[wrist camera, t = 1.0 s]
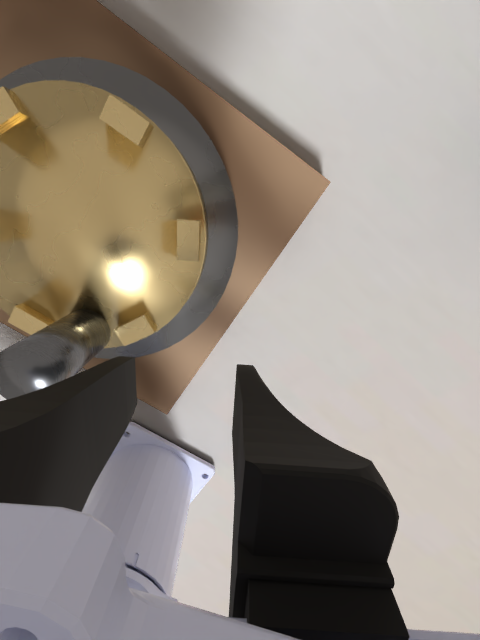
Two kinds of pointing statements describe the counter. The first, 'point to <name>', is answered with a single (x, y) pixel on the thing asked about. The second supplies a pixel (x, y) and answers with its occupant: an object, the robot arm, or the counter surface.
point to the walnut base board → (229, 140)
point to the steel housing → (200, 160)
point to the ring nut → (89, 229)
